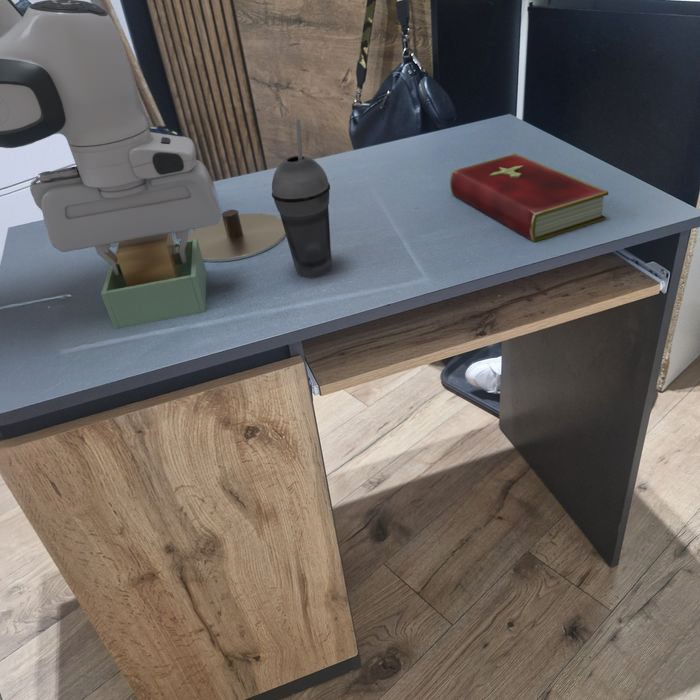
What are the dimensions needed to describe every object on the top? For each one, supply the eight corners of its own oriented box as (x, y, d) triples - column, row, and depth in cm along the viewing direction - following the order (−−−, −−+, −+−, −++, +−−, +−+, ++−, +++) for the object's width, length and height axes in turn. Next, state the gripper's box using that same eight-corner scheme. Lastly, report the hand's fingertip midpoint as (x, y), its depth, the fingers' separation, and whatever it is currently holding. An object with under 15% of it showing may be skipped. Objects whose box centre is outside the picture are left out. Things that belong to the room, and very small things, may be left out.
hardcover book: (531, 243, 85) (533, 213, 82) (450, 195, 101) (449, 169, 99) (605, 219, 88) (608, 190, 86) (514, 177, 104) (515, 151, 102)
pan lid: (183, 274, 90) (174, 244, 87) (186, 230, 102) (178, 203, 100) (292, 253, 91) (287, 223, 88) (282, 212, 104) (277, 185, 101)
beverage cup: (304, 257, 89) (278, 110, 78) (351, 263, 86) (331, 110, 75) (277, 282, 84) (245, 129, 73) (326, 289, 81) (300, 130, 70)
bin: (116, 332, 78) (100, 294, 75) (125, 290, 88) (112, 253, 85) (206, 315, 79) (195, 276, 76) (207, 274, 89) (197, 238, 85)
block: (131, 298, 79) (115, 254, 76) (135, 276, 84) (121, 234, 81) (179, 289, 80) (166, 245, 76) (181, 267, 85) (168, 225, 81)
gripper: (16, 184, 69) (64, 295, 77) (204, 152, 71) (232, 263, 79) (30, 166, 75) (73, 271, 82) (205, 137, 76) (231, 242, 84)
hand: (152, 267), depth 81 cm, fingers closed on block, 6 cm apart
